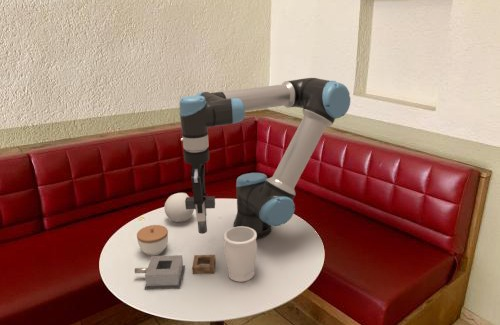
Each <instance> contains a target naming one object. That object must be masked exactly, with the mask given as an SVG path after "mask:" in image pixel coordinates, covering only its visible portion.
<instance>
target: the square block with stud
mask: <svg viewBox="0 0 500 325" xmlns="http://www.w3.org/2000/svg"><path fill="white" fill-rule="evenodd" d="M183 258H184V257H183V255H179V254H177V255H155V256H151V258H150V261H149V264H148V266H147V267H136V268H134V273H135V274H144V277H145V278H144V279H145V285H144V290H170V289H171V290H174V289H175V290H176V289H181V286H182V282H183V279H184V278H183V277H184V274H185V270H186V265H184V261H183V260H184V259H183Z"/></svg>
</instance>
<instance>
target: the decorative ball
mask: <svg viewBox="0 0 500 325" xmlns="http://www.w3.org/2000/svg"><path fill="white" fill-rule="evenodd" d="M186 197H190V196H189V195H188V194H187V193H186V192H177V193H174V194H171V195H170V196H168V198H167V199H166V201H165V202H164V207H163V208H164V213H165V215H166V217H167V218H168V219H169V220H170V221H171V222H174V223H184V222H186V221H188V220H189V219H190V218H191V217H192V216H193V213H194V211H195V209H186V205H185V200H186Z"/></svg>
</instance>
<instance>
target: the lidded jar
mask: <svg viewBox="0 0 500 325" xmlns="http://www.w3.org/2000/svg"><path fill="white" fill-rule="evenodd" d="M168 232H169V230H168V228H167V227H166V226H164V225H161V224H152V225H148V226H145V227H142V228H141V229H139V230H138V231H137V233H136V239H137V242H138V243H137V244H138V246H139V248H140V250H141V251H142V252H143V253H145V254H146V255H147V256H151V257H152V256H159V255H160V254H162V253H163V251H165V249H166V247H167V245H168V240H169V235H168V234H169V233H168Z"/></svg>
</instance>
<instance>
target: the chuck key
mask: <svg viewBox="0 0 500 325" xmlns="http://www.w3.org/2000/svg"><path fill="white" fill-rule="evenodd" d="M193 201H194V196H189V197H186V200H185V205H186V209H194V210H196V206H195V204H193ZM203 201H204V206H205V209H206V211H205V219H206V221H198V222H197V230H198V231H197V232H198V234H202V235H203V234H206V233H207V232H208V226H207V215H206V214H207V209H215V208H216V197H215V195H214V196H213V195H212V196H204V197H203Z"/></svg>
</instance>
